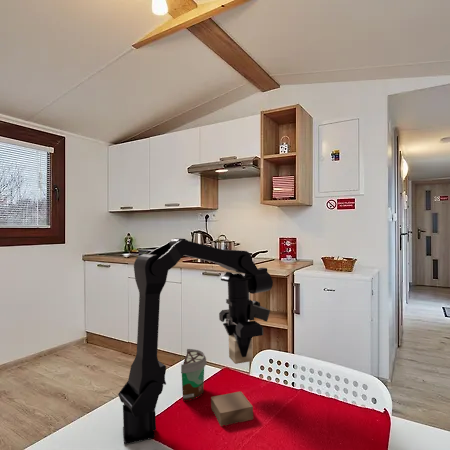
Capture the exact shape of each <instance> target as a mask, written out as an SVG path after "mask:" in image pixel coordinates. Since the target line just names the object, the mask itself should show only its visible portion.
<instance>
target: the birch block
mask: <svg viewBox="0 0 450 450" xmlns="http://www.w3.org/2000/svg"><path fill="white" fill-rule="evenodd" d="M253 349H254V348H253V338H252V339H251V341H250V344H249V348H248V352H247V355H246V357H242V355H241V353H240V350H239V347H238V345H237V342H236V339H235V336H234V335H230V336H229V335H228V357H229V359H230V360H231V361H232V362H233V363H234V364H235V365H238V364H244V363H249V362H253V361H254V359H253V358H254V357H253V356H254V355H253V353H254V351H253Z"/></svg>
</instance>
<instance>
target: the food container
mask: <svg viewBox="0 0 450 450" xmlns="http://www.w3.org/2000/svg"><path fill="white" fill-rule="evenodd" d="M185 355H186V356H185V358H184V359H183V360H184V361H183V364H180V365H181V366H180V367H181V368H180V369H181V371H180V373H181V386H182V401H183V402H185V401H184V400H189V401H191V400H190V399H193V400H195V399H194V398H196V397H198V396H200V395H201V394H202V393H203V394H204V387H205V384H204V383H205V382H204V380H205V367H206V366H207V363H208V362H207V357H206V355H205V353H204V352H203V351H201V350H199V349H193V348H187V349H186V354H185ZM203 394H202V395H203ZM202 395H201V396H202ZM201 396H200V397H201ZM198 398H199V397H198ZM196 399H197V398H196Z"/></svg>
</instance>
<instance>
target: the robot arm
mask: <svg viewBox="0 0 450 450" xmlns="http://www.w3.org/2000/svg"><path fill="white" fill-rule="evenodd" d="M183 257H188V258H193V259H197V260H202V261H206V262H210V263H214V264H217V265H218V266H220V267H221V268H222V269H225V270H228V271H226V272H225V273H224V275H222V276H221V278H220V281H222V282H226V283H227V295H228V296H227V298H226V299H225V303H226V304H227V305H228V309H222V310H221V311H220V312H219V314H218V317H219V318H218V319H219V321H220V322H221V323H222V325H223V326H224V329H225V330H226V333H227V335H228V337H229V336H230V335H234V336H235V339H236V342H237V345H238V347H239V350H240V353H241V355H242V357H246V355H247V352H248V348H249V344H250V341H251V339H252V340H253V338H254V337H261V336H264V326H263V325H261V323H259V322H258V321H256V320H255V319H257V320H258V319H259V320H262V321H263V322H267V323H268V320H269V316H270V313H271V310H270V309H268V308H266V307H264V306H262V305H261V303H260V302H259V301H258V300H251V299H250V294H251V295H252V294H254V295H255V294H258V293H263V292H264V293H265V292H269V291H271V289H272V288H273V284H274V280H273V278H272V276H271V274H270V273H269V272H268V268H267V267H259V268H258V267H257V265H256V264H255V262H254V260H253V259H252V256H251V253H250V252H249V251H247V250H241V249H239V250H238V249H221V248H217V247H214V246H210V245H207V244H202V243H198V242H195V241H190V240H187V239H186V238H181V237H180V238H178V237H177V238H172V239H170V240H169V241H168V242H166V243H165V244H162V245H160V246H159V247H157V248H155V249H154V250H152V251H150V252H149V253H144V254H143V253H142V254H141V255H139V256H138V257H137V258H136V259H135V260H134V262H133V271H134V279H135V283H136V287H137V289H138V295H139V296H138V314H137V315H138V316H137V317H138V318H137V319H138V320H137V335H136V336H137V337H136V338H137V340H136V355H135V357H134V360H133V361H132V364H131V366H130V369H129V375H128V380H127V382H126V383H125V384H124V385H123V387H122V388H121V390H120V391H119V393H118V394H117V395H118V397H119V398H118V399H119V400H120V402H121V403H123V405H122V421H123V426H122V435H123V437H122V438H123V444H124V445H128V444H134V443H138V442H142V441H147V440H151V439H154V438H155V437H156V436H155V431H156V430H157V423H156V422H157V421H156V408H157V403H158V400H159V396H160V395H161V394H162V392H163V389H164V386H165V385H167V382H166V372H167V366H166V365H165V364H164V363H162V362H161V361H160V360H159V358H158V347H159V326H160V324H159V323H160V322H159V321H160V303H161V300H160V299H161V293H162V291H163V288H164V287H165V285H166V282H167V278H168V273H169V270H171V269H172V268H174V267H175V266H176V265H177V264H178V263H179V261H180V260H181V259H182V258H183ZM229 271H233V272H235V273H232V272H229ZM243 274H244V275H243Z"/></svg>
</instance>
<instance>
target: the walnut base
mask: <svg viewBox="0 0 450 450" xmlns="http://www.w3.org/2000/svg"><path fill="white" fill-rule="evenodd" d="M210 406H211V407H210V408H211V409H210V410H211V411H212V413H213V412H214V413H213V415H214V414H215V415H214V416H216V417H215V418H217V419H216V421H217V422H218V424H219V426H220V427H224V426H223V425H225V426H228V425H229V424H230V425H234V424H238V422H239V423H244V422H247V421H252V420H254V407H253V405H252V403H251V402H250V401H249V400H248V398H247V397H246V396H245V394H244V393H243V392H242V391H235V392H230V393H226V394H225V393H224V394H220V395H214V396H211V397H210ZM233 423H234V424H233ZM230 425H229V426H230Z"/></svg>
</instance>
